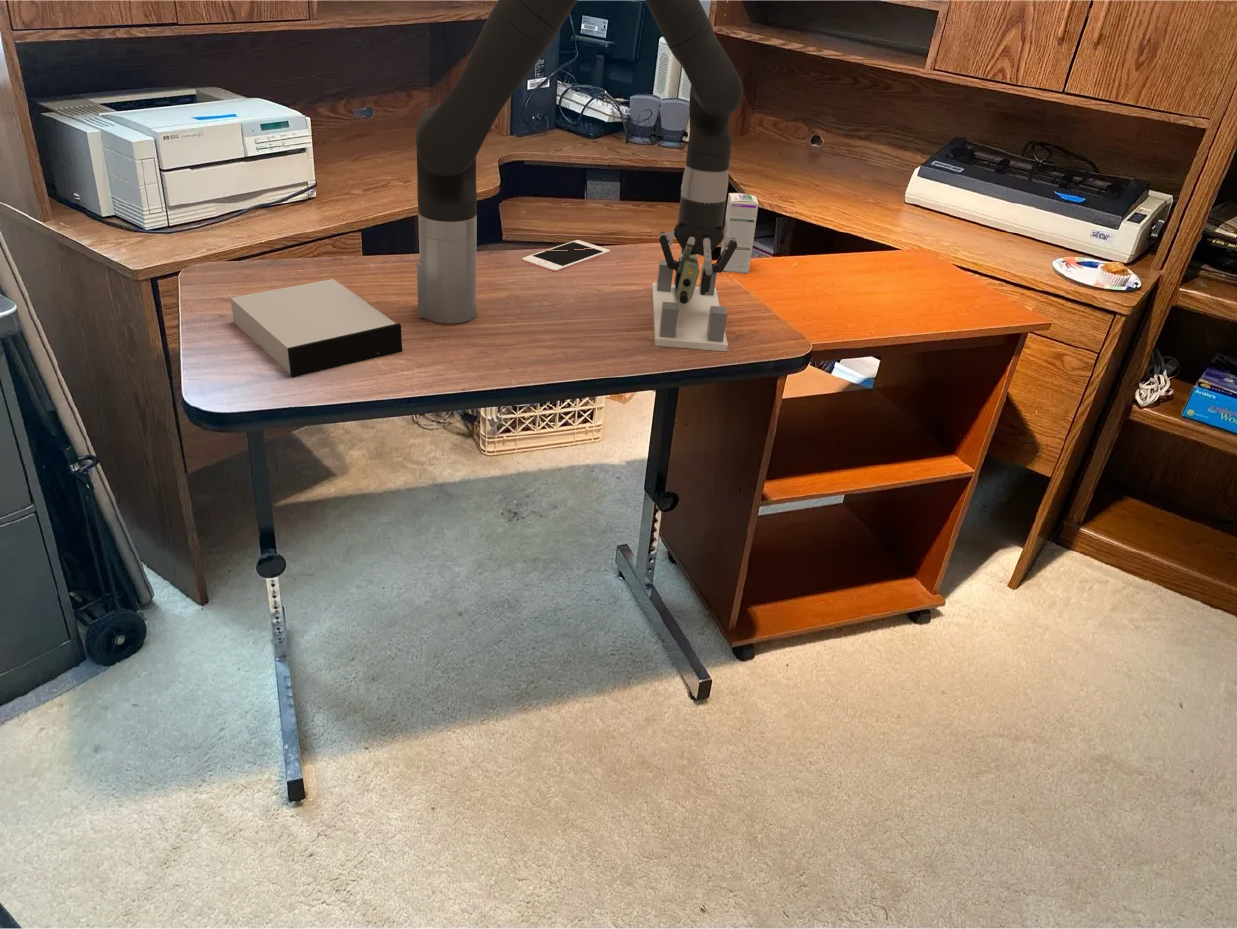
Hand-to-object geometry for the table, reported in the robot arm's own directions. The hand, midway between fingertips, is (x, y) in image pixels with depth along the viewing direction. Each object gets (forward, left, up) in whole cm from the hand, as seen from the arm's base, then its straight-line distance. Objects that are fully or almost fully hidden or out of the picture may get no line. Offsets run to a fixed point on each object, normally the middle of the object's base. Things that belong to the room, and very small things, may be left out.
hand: (691, 292), depth 162 cm
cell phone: (-23, +27, -5) cm, 36 cm away
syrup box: (+11, +29, -5) cm, 31 cm away
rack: (0, 0, -5) cm, 5 cm away
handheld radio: (-2, -1, -1) cm, 2 cm away
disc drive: (-60, -21, -5) cm, 63 cm away
